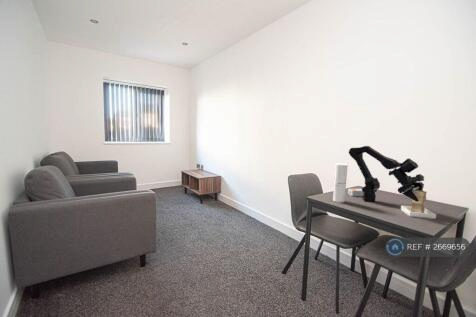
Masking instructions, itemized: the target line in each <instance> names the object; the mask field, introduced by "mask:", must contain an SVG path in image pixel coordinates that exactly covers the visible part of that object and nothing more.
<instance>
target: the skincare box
mask: <svg viewBox="0 0 476 317" xmlns="http://www.w3.org/2000/svg"><path fill="white" fill-rule="evenodd" d="M363 193H364V192H363V191H362V188H347V195H350V196H351V197H363Z"/></svg>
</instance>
